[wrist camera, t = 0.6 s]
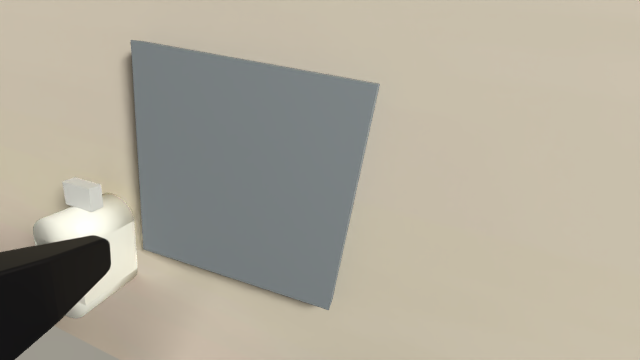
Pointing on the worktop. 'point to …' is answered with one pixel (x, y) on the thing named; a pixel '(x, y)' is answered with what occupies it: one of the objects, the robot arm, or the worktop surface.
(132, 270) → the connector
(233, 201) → the slate mat
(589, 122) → the worktop surface
